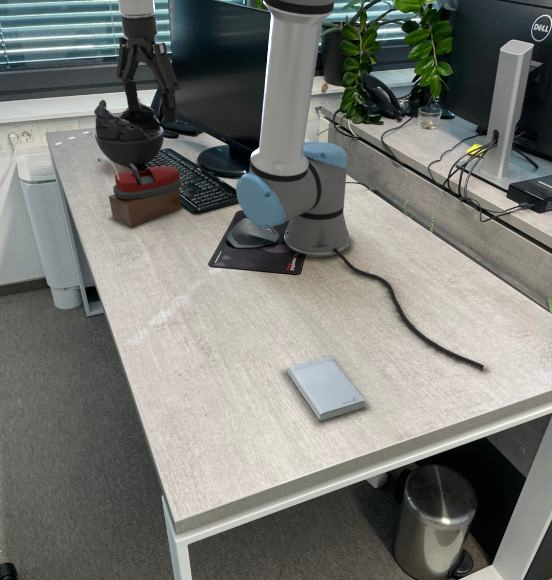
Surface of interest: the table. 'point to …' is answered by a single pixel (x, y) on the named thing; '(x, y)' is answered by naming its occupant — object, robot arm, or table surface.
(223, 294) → the table surface
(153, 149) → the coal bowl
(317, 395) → the hard drive
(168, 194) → the walnut block
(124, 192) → the bumper car
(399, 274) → the table surface
